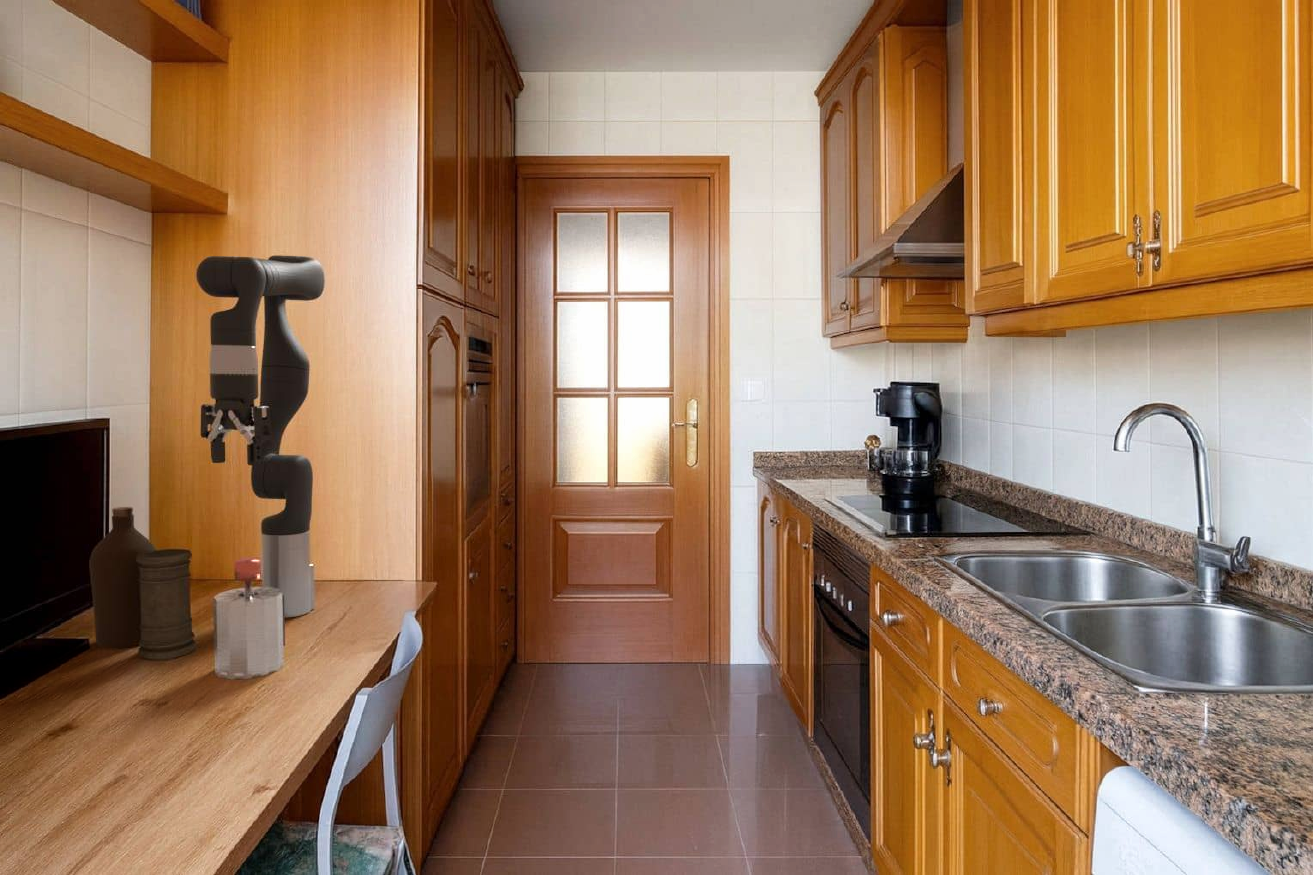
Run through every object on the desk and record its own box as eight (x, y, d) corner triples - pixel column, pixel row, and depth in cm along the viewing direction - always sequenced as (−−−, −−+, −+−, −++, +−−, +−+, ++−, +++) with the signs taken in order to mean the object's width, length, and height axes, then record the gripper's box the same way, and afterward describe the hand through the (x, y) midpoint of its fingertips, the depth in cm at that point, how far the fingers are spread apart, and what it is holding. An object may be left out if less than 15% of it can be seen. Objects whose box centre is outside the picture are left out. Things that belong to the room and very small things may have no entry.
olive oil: (87, 653, 144) (82, 514, 142) (97, 636, 154) (93, 505, 152) (156, 646, 149) (153, 510, 147) (163, 629, 158) (159, 502, 157)
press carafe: (260, 652, 146) (258, 582, 146) (303, 660, 143) (302, 588, 142) (201, 673, 136) (199, 598, 135) (246, 683, 132) (245, 605, 131)
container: (169, 662, 141) (166, 560, 139) (125, 658, 142) (122, 556, 141) (207, 646, 149) (205, 549, 148) (165, 642, 151) (163, 546, 150)
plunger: (251, 649, 143) (249, 554, 142) (282, 655, 140) (280, 558, 139) (215, 662, 136) (213, 562, 135) (247, 668, 134) (245, 566, 132)
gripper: (281, 372, 143) (283, 464, 144) (223, 371, 148) (225, 460, 150) (246, 372, 136) (248, 468, 137) (185, 371, 142) (188, 463, 143)
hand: (236, 463), depth 144 cm, fingers open, 8 cm apart
